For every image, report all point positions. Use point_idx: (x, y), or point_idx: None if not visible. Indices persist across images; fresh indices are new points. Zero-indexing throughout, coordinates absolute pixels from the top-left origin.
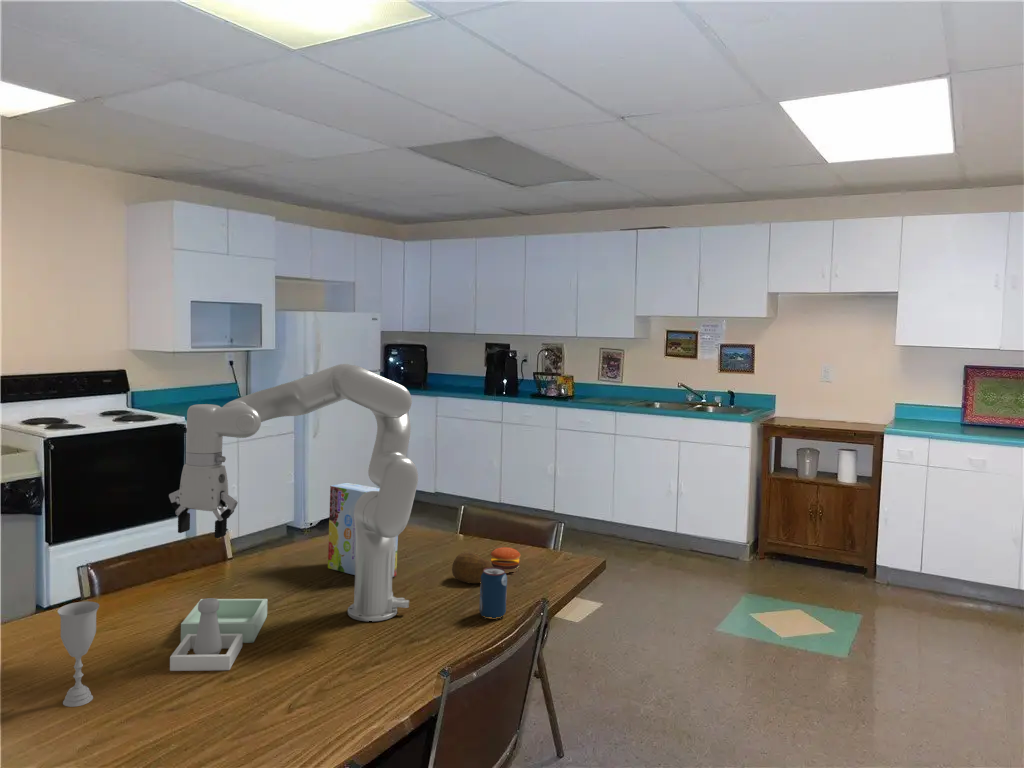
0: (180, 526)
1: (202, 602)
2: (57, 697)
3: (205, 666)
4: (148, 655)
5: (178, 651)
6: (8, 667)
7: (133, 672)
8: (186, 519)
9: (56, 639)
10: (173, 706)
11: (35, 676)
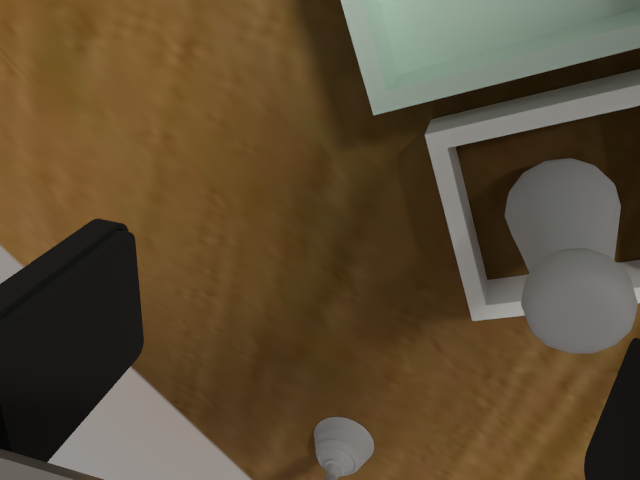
0: (100, 395)
1: (556, 342)
2: (291, 430)
3: None
4: (342, 206)
5: (478, 282)
6: None
7: (374, 312)
8: (51, 364)
9: (20, 152)
10: None
11: (167, 350)
